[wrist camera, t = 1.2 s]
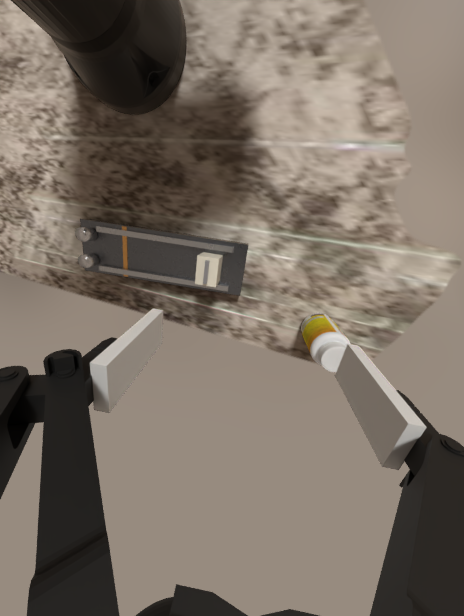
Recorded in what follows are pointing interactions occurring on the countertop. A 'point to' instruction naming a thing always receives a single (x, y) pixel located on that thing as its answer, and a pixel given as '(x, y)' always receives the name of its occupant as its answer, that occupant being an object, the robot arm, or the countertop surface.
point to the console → (157, 255)
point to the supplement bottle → (324, 340)
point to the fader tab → (208, 269)
